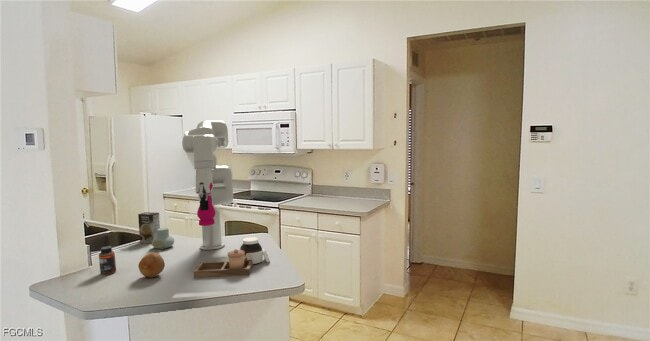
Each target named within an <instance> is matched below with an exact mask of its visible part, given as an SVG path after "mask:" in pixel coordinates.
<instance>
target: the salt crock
mask: <svg viewBox="0 0 650 341" xmlns="http://www.w3.org/2000/svg"><path fill="white" fill-rule="evenodd" d="M244 254H245V251H243V250H240V249H234V250H231V251H228V252H227V257H228V261H229V269H239V268H245V263H244Z"/></svg>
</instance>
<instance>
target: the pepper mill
mask: <svg viewBox="0 0 650 341" xmlns="http://www.w3.org/2000/svg"><path fill="white" fill-rule="evenodd" d="M212 187H214V184H213V185H212V183H210V192H209V193H207V200H208V206H209V210H203V211H201V210H200V205H198V206H199V207H198V209H197V213H196V215H197V218H198V219H199V220H198V225H199V226H201V227H202V226H208V225H213V224H215V219H213V218H214V216H215V214H216V213H215V209H214V207H213V205H212V202H211V195H212V194H211V189H212ZM199 191H200V189H199ZM203 193H206V192H203ZM199 196H200V195H199Z"/></svg>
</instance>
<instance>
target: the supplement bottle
mask: <svg viewBox="0 0 650 341" xmlns="http://www.w3.org/2000/svg"><path fill="white" fill-rule="evenodd" d="M98 261H99V262H98V264H99V273H100V275H102V276H106V275H107V276H108V275H112V274H115V273H116V272H117V265H116V254H115V251H113V249H112V246H111V245H109V246H108V245H107V246H102V247H101V248H100V252H99V254H98Z"/></svg>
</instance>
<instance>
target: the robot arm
mask: <svg viewBox="0 0 650 341" xmlns="http://www.w3.org/2000/svg"><path fill="white" fill-rule="evenodd" d="M181 144H182V148H183V151H184V152H186V153H187V154H193V162H194V163H193V166H194V170H195V193H196V194H198V195H197V196H198V201H199V206H200V210H201V211H203V210H209V206H208V200H207V193H209V192H210V183H212V185H213V187H212V189H211V194H212V195H211V202H212V205H213V207H214V209H215V213H216V214H215V216H214V218H213V219H215V224H213V225H208V226H201V236H202V243H201V244H200V245H199V249H201V250H204V251H213V250H217V249H222V248H224V247H225V246H226V243H225V242H224V241H222V224H221V223H222V222H221V219H222V218H221V212H220V210H219V209H218V208H217V207H216V206H220V205H230V204H232V203H233V202H234V184H233V173H232V169H231V167H229V166H227V165H218V163H217V162H218V161H217V155H216V154H215V153H214V152H215V151H216V150H217V149H225V148H227V147H228V145H229V130H228V126H227V124H226V122H225V121H223V120H204V121H200V122H199V123H198V124H197V126H196V128H193V129H191V130H188V131H186V132H184V134H183V136H182V142H181ZM214 185H221V186H214ZM222 185H223V186H222ZM199 189H200V191H199ZM203 192H206V193H203ZM199 195H200V196H199Z"/></svg>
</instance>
